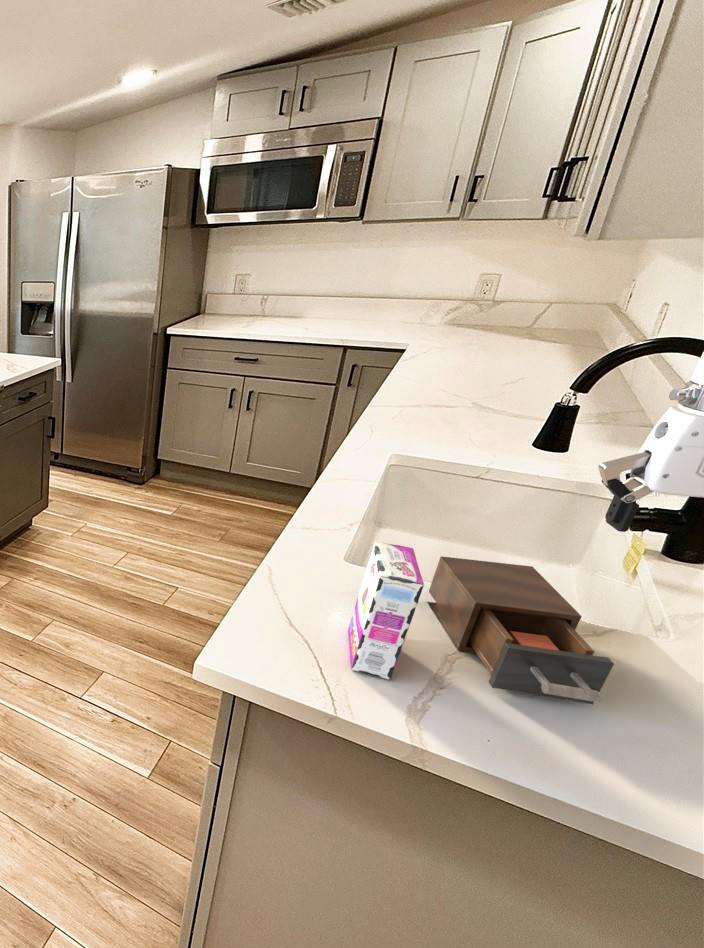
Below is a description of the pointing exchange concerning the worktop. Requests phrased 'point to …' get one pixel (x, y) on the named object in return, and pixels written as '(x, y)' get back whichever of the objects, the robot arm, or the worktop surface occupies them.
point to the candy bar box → (384, 609)
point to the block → (532, 640)
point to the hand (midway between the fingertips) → (667, 531)
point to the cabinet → (491, 595)
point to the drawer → (538, 657)
